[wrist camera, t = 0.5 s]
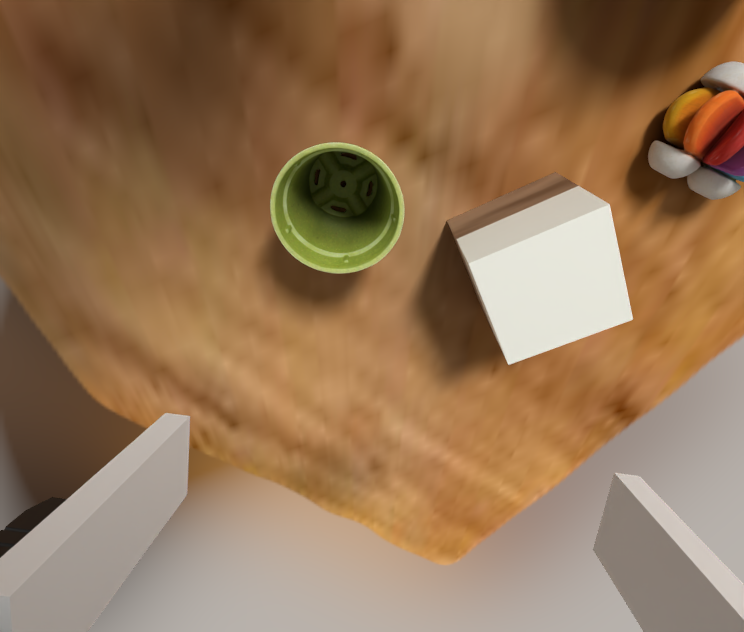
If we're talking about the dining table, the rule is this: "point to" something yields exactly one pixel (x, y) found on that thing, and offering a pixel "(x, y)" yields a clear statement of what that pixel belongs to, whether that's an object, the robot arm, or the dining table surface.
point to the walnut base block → (507, 208)
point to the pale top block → (549, 274)
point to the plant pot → (333, 228)
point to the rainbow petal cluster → (706, 134)
